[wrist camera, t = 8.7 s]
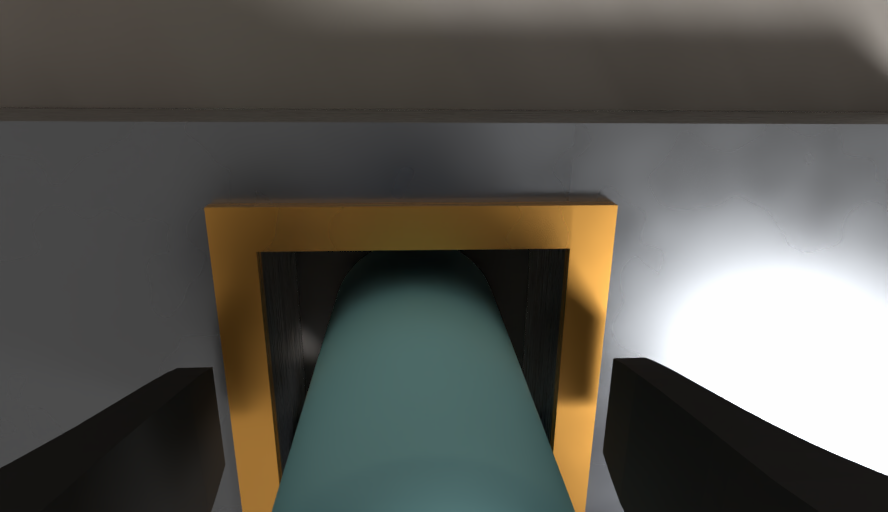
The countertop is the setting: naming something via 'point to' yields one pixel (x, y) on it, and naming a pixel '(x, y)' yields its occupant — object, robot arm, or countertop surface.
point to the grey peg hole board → (447, 228)
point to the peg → (419, 400)
